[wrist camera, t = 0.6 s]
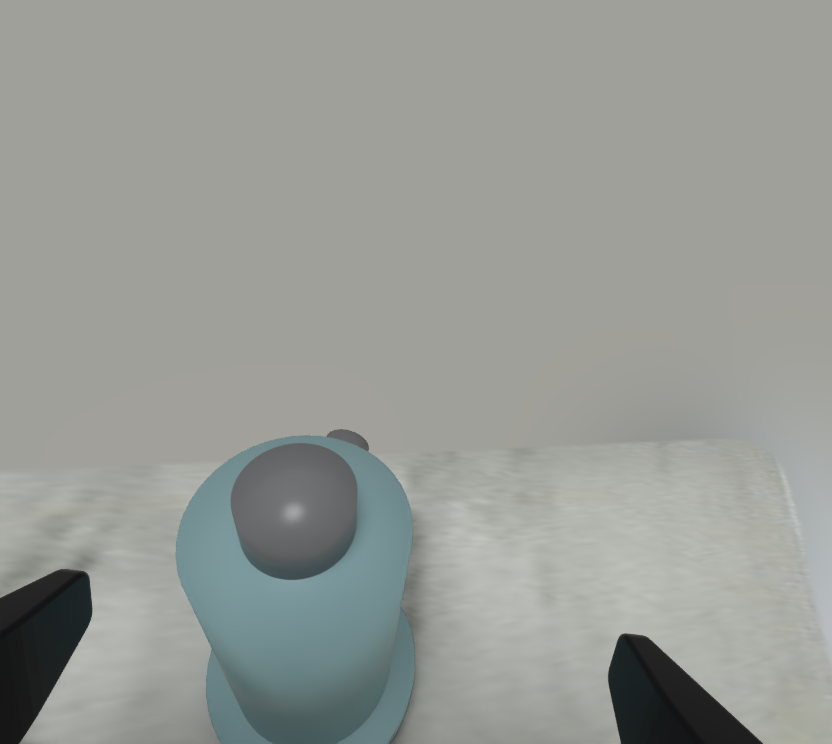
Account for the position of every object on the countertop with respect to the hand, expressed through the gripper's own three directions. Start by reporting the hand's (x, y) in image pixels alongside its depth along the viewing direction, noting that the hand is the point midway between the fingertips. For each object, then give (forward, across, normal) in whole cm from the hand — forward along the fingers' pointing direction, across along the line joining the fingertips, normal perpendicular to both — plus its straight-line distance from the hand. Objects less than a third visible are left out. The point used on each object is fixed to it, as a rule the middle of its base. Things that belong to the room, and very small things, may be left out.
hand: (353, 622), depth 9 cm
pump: (+10, +2, +12) cm, 15 cm away
